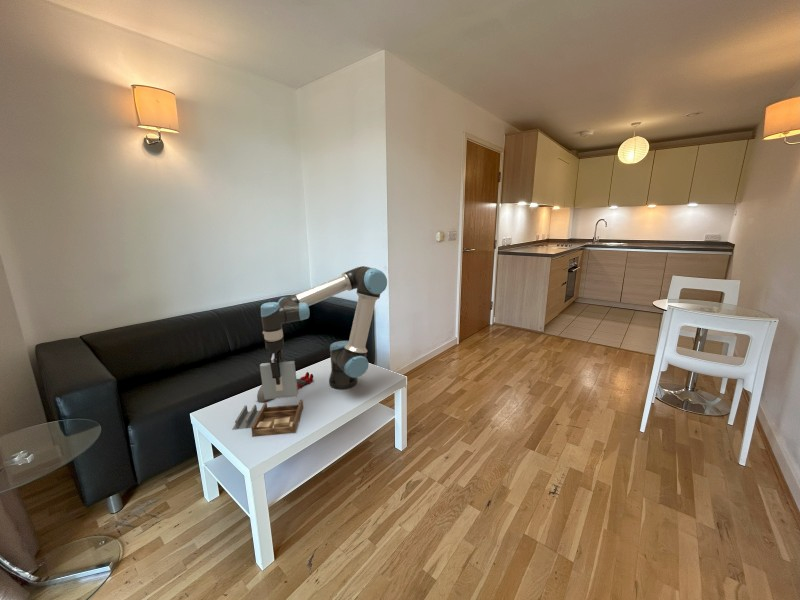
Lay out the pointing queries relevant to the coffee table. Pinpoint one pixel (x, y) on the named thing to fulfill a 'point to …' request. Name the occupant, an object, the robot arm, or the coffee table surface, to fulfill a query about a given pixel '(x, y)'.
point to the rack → (277, 413)
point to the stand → (246, 418)
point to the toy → (300, 382)
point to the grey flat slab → (287, 380)
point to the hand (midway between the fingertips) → (280, 388)
